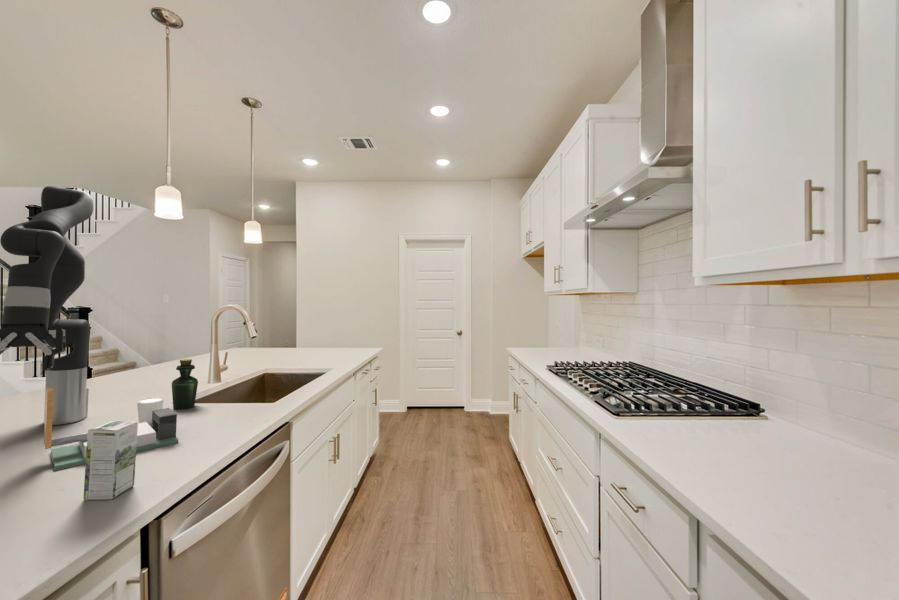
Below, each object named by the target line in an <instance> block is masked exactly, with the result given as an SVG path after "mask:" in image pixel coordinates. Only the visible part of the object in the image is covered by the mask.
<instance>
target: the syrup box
mask: <svg viewBox="0 0 899 600" xmlns="http://www.w3.org/2000/svg"><path fill="white" fill-rule="evenodd" d="M138 423H139V421H132V420H112V421H108V422H107V423H104V424H101V425H99V426H96V427H93V428H91V429H88V431H87V433H88V435H87V451H86V464H85V469H84V470H85V471H84V482H83V483H84V485H83V486H84V487H83V500H84V501H90V500H91V501H92V500H93V501H100V500H101V501H102V500H103V501H105V500H114V499H115V498H117V497H118V496H120V495H122V494H123V493H124V492H126V491H128V490H129V489H131V488H132V487H134V486H135V477H136V476H135V475H136V473H135V472H136V460H137V452H136V446H137V429H138Z"/></svg>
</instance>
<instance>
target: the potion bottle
mask: <svg viewBox="0 0 899 600" xmlns="http://www.w3.org/2000/svg"><path fill="white" fill-rule="evenodd" d="M192 361H193V359H192V358H182V359H181V358H180V359H179V363H180V364H179V365H178V366H176V369H175V370H177V371H179V377H177V378H175V379H173V381H172V382H171V394H172V396H171V397H172V408H173V409H174V410H187V409H192V408H193V407H195V405H196V399H197V394H198V393H197V392H198V384H199V381H198V379H197V377H194V376H192V375H191V373H192V371H193V370H194V369H196V367H195V365H194V364H192Z"/></svg>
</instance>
